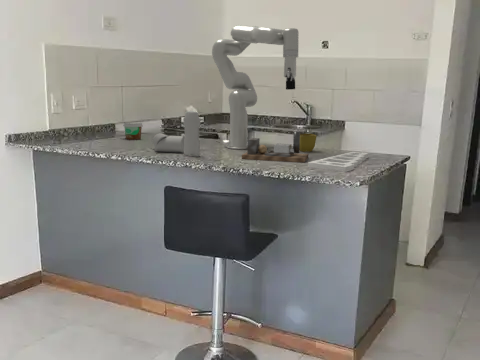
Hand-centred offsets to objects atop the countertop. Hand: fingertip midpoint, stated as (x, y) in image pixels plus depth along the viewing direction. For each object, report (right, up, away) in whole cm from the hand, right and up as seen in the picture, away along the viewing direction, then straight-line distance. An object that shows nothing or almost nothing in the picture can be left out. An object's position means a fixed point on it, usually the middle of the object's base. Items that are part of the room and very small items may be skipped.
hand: (290, 89), depth 270 cm
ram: (-3, -32, -11) cm, 34 cm away
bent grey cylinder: (-63, -30, +13) cm, 71 cm away
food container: (-91, -21, +58) cm, 110 cm away
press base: (-8, -35, -9) cm, 37 cm away
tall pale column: (-49, -33, -3) cm, 60 cm away
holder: (+25, -38, -19) cm, 50 cm away
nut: (-14, -33, -8) cm, 37 cm away
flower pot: (+10, -30, +18) cm, 36 cm away
